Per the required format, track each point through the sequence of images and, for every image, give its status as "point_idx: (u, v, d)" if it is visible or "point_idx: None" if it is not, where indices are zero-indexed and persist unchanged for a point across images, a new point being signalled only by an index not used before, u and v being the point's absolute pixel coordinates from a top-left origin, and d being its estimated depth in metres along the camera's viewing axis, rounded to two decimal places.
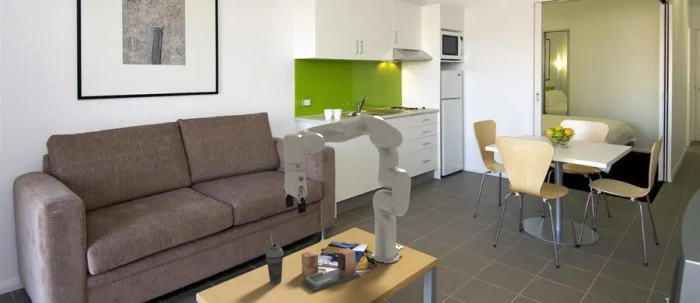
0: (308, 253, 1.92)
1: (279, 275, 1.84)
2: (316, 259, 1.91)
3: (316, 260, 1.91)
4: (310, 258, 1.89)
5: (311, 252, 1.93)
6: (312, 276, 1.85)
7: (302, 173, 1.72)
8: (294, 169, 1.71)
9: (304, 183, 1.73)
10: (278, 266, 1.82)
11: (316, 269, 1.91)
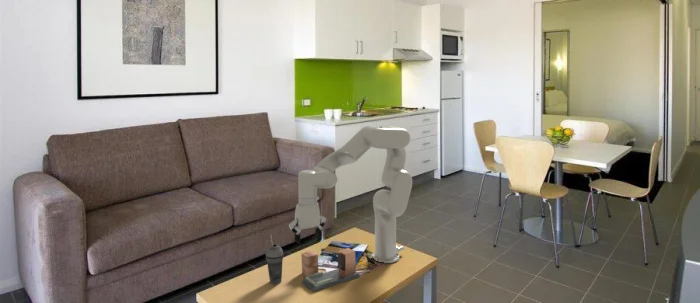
0: (308, 253, 1.92)
1: (279, 275, 1.84)
2: (316, 259, 1.91)
3: (316, 260, 1.91)
4: (310, 258, 1.89)
5: (311, 252, 1.93)
6: (312, 276, 1.85)
7: None
8: (316, 201, 1.88)
9: None
10: (278, 266, 1.82)
11: (316, 269, 1.91)
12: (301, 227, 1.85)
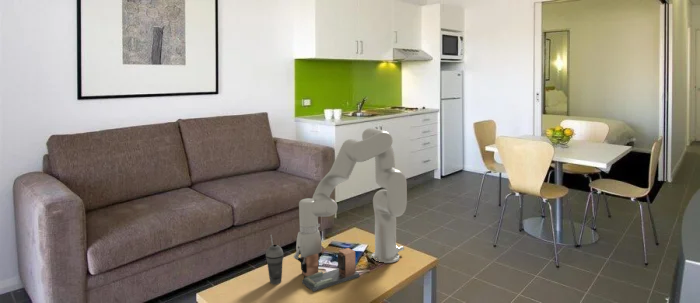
0: None
1: (279, 275, 1.84)
2: (316, 259, 1.91)
3: (316, 260, 1.91)
4: (310, 258, 1.89)
5: None
6: (312, 276, 1.85)
7: None
8: (317, 229, 1.90)
9: None
10: (278, 266, 1.82)
11: (316, 269, 1.91)
12: (303, 255, 1.87)
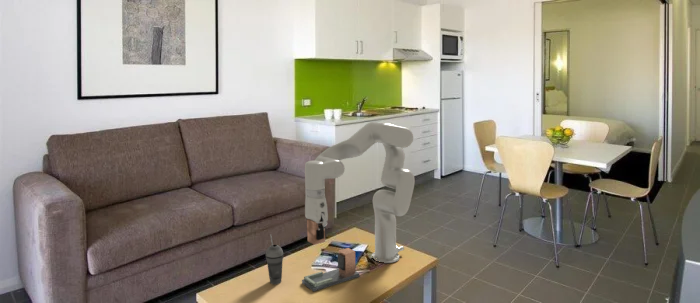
0: None
1: (279, 275, 1.84)
2: (312, 227, 1.78)
3: (312, 228, 1.78)
4: (308, 222, 1.80)
5: None
6: (312, 276, 1.85)
7: (323, 199, 1.76)
8: (315, 196, 1.75)
9: (325, 209, 1.76)
10: (278, 266, 1.82)
11: (313, 238, 1.79)
12: (305, 216, 1.82)
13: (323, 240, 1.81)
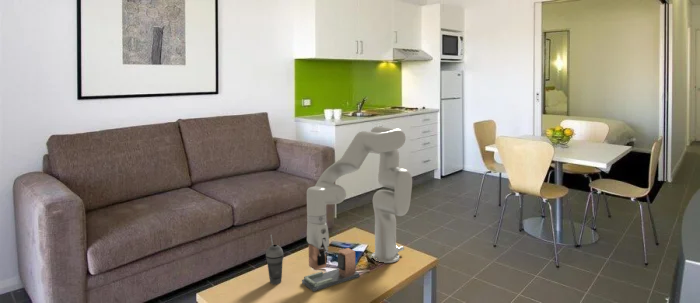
0: None
1: (279, 275, 1.84)
2: (313, 252, 1.78)
3: (314, 253, 1.78)
4: (310, 247, 1.80)
5: None
6: (312, 276, 1.85)
7: (325, 225, 1.76)
8: (317, 222, 1.75)
9: (326, 235, 1.77)
10: (278, 266, 1.82)
11: (314, 263, 1.79)
12: (307, 241, 1.83)
13: (324, 265, 1.81)
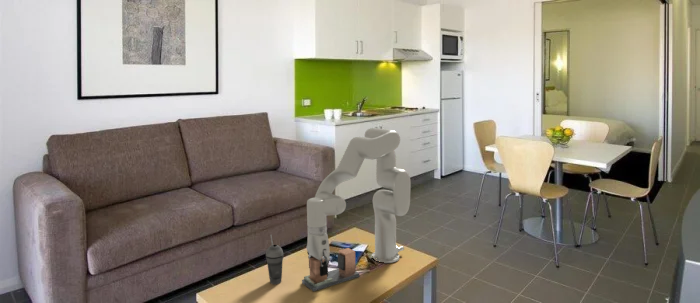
0: None
1: (279, 275, 1.84)
2: (314, 267, 1.80)
3: (314, 268, 1.80)
4: (311, 261, 1.82)
5: None
6: None
7: (325, 237, 1.77)
8: (317, 233, 1.76)
9: (327, 246, 1.78)
10: (278, 266, 1.82)
11: (314, 277, 1.80)
12: (308, 251, 1.84)
13: (325, 279, 1.82)
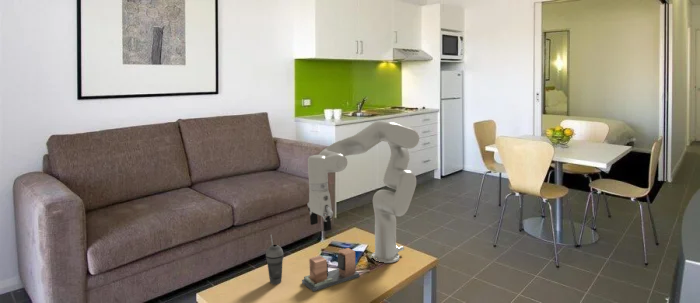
0: (319, 258, 1.82)
1: (279, 275, 1.84)
2: (314, 267, 1.80)
3: (314, 268, 1.80)
4: (311, 261, 1.82)
5: (320, 259, 1.81)
6: None
7: (327, 193, 1.79)
8: (319, 189, 1.78)
9: (329, 202, 1.80)
10: (278, 266, 1.82)
11: (314, 277, 1.80)
12: (310, 209, 1.86)
13: (325, 279, 1.82)
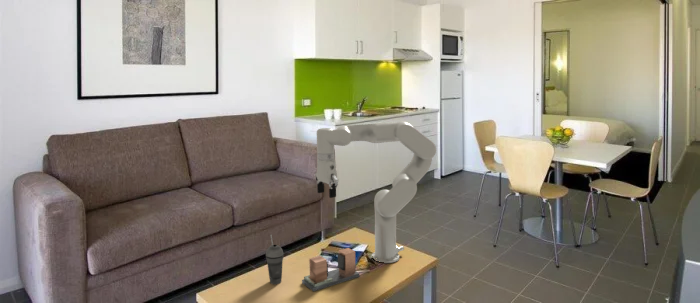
0: (319, 258, 1.82)
1: (279, 275, 1.84)
2: (314, 267, 1.80)
3: (314, 268, 1.80)
4: (311, 261, 1.82)
5: (320, 259, 1.81)
6: None
7: (333, 162, 1.96)
8: (326, 159, 1.96)
9: (335, 171, 1.97)
10: (278, 266, 1.82)
11: (314, 277, 1.80)
12: (317, 178, 2.03)
13: (325, 279, 1.82)
